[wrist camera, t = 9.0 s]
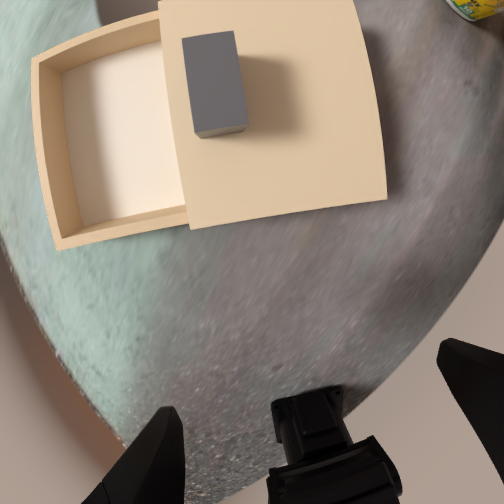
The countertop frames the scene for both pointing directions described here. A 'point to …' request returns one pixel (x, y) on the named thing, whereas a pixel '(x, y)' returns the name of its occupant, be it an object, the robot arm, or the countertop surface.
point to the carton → (106, 134)
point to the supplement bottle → (476, 8)
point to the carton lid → (270, 107)
